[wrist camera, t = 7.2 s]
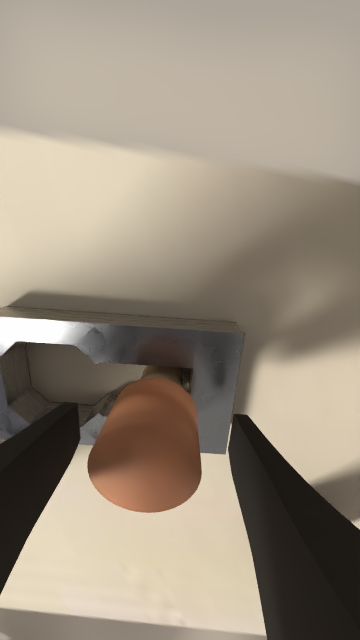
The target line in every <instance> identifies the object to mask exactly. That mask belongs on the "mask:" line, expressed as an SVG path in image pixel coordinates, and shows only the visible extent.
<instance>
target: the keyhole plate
mask: <svg viewBox="0 0 360 640" xmlns="http://www.w3.org/2000/svg"><path fill="white" fill-rule="evenodd" d="M244 335H245V333H244V332H243V331H242V329H241V328H240V327H239V326H238V325H237V323H236V322H223V321H208V320H194V319H179V318H164V317H150V316H135V315H121V314H106V313H92V312H77V311H63V310H48V309H33V308H19V307H3V308H0V435H1V439H9V438H11V437H13V436H14V435H16V434H17V433H19V432H20V431H22V430H23V429H25V428H26V427H28V426H29V425H31V424H32V423H34V422H35V421H37V420H38V419H40V418H41V417H43V416H44V415H46V414H47V413H49V412H50V411H52V410H53V409H55V408H56V407H58V406H59V405H61V404H63V403H52V402H49V401H47V400H46V399H45V398H44V397H43V396H41V395H40V394H39V393H38V392H37V391H35V390H34V389H33V388H32V387H31V382H30V375H29V368H28V362H27V355H26V348H25V344H26V343H27V342H39V343H53V344H68V345H75V346H76V347H77V348H78V349H79V350H80V351H82V352H83V353H84V354H85V355H86V356H87V357H88V358H89V359H90V360H91V361H92V362H93V363H94V364H96V365H98V364H99V363H100V362H109V363H124V364H138V365H153V366H167V367H182V368H190V379H189V390H188V393H189V394H190V395H191V397H192V398H193V400H194V402H195V405H196V409H197V419H198V432H199V445H200V453H213V454H226V448H227V441H228V435H229V429H230V423H231V416H232V410H233V404H234V398H235V392H236V385H237V379H238V373H239V367H240V360H241V354H242V348H243V342H244ZM117 397H118V396H113V395H112V394H111V393H109V394H108V395H107V396H105V397H104V398H103V399H102V400H101V401H99V402H98V403H97V404H96V405H81V404H78V413H79V425H80V437H81V439H80V442H79V444H83V445H94V443H95V441H96V439H97V437H98V435H99V433H100V431H101V429H102V427H103V425H104V423H105V421H106V419H107V417H108V415H109V413H110V411H111V409H112V407H113V405H114V403H115V401H116V399H117Z"/></svg>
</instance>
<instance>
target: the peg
mask: <svg viewBox="0 0 360 640" xmlns="http://www.w3.org/2000/svg"><path fill="white" fill-rule="evenodd" d="M88 473H89V477H90V479H91V482H92V484H93V485H94V487H95V488H96V489H97V491H98V492H99V493H100V494H101V495H102V496H103V497H104V498H106V499H107V500H109V501H110V502H112V503H113V504H115V505H117V506H120V507H122V508H125V509H128V510H132V511H136V512H147V513H151V512H161V511H166V510H169V509H172V508H175V507H177V506H179V505H181V504H182V503H184V502H185V501H187V500H188V499H189V498H190V497H191V496H192V495H193V494H194V493H195V491H196V490H197V488H198V486H199V483H200V480H201V473H202V470H201V458H200V445H199V432H198V419H197V409H196V405H195V402H194V400H193V398H192V397H191V395H190V394H189V393H188V392H187V391H186V390H185V389H184V388H183V387H182V374H181V371H180V369H179V368H178V367H167V366H153V365H147V367H146V368H145V370H144V372H143V375H142V378H141V379H140V380H137V381H135V382H133V383H131V384H129V385H128V386H126V387H125V388H124V389H123V390H122V391H121V392H120V394H119V395H118V397H117V399H116V401H115V403H114V405H113V407H112V409H111V411H110V413H109V415H108V417H107V419H106V421H105V423H104V425H103V427H102V429H101V431H100V433H99V435H98V437H97V439H96V441H95V443H94V445H93V448H92V450H91V452H90V454H89V458H88Z"/></svg>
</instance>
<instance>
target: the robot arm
mask: <svg viewBox="0 0 360 640" xmlns="http://www.w3.org/2000/svg"><path fill="white" fill-rule="evenodd" d="M80 439H81V437H80V425H79V413H78V403H68V402H64V403H63V404H61V405H59V406H58V407H56V408H55V409H53V410H52V411H50V412H49V413H47V414H46V415H44V416H43V417H41V418H40V419H38V420H37V421H35V422H34V423H32V424H31V425H29V426H28V427H26V428H25V429H23V430H22V431H20V432H19V433H17V434H16V435H14V436H13V437H11V438H9V439H8V440H6V441H5V442H3V443H1V444H0V594H1V592H2V590H3V588H4V586H5V584H6V581H7V579H8V577H9V575H10V573H11V571H12V569H13V567H14V565H15V563H16V561H17V559H18V557H19V554H20V552H21V550H22V548H23V546H24V544H25V542H26V540H27V538H28V536H29V535H30V533H31V531H32V529H33V527H34V525H35V523H36V522H37V520H38V518H39V517H40V515H41V513H42V511H43V510H44V508H45V506H46V504H47V503H48V501H49V499H50V497H51V496H52V494H53V492H54V491H55V489H56V487H57V485H58V484H59V482H60V480H61V478H62V477H63V475H64V473H65V471H66V470H67V468H68V466H69V464H70V462H71V460H72V458H73V456H74V453H75V451H76V449H77V446H78V444H79V442H80ZM228 452H229V459H230V465H231V472H232V477H233V481H234V485H235V489H236V492H237V496H238V500H239V504H240V508H241V512H242V516H243V519H244V523H245V527H246V531H247V535H248V539H249V543H250V547H251V552H252V556H253V561H254V567H255V572H256V578H257V583H258V588H259V594H260V600H261V605H262V611H263V617H264V623H265V628H266V634H267V640H360V530H359V529H358V528H357V527H356V526H355V525H353V524H352V523H351V522H350V521H349V520H347V519H346V518H345V517H344V516H343V515H342V514H341V513H339V512H338V511H337V510H336V509H335V508H334V507H333V506H332V505H331V504H330V503H328V502H327V501H326V500H325V499H324V498H323V497H322V496H321V495H320V494H319V493H318V492H317V491H316V490H314V489H313V488H312V487H311V486H310V485H309V484H308V483H307V482H306V481H305V480H304V479H303V478H302V477H301V476H300V475H299V474H298V472H297V471H296V470H295V469H294V468H293V467H292V466H291V465H290V464H289V463H288V462H287V461H286V460H285V459H284V458H283V457H282V455H281V454H280V453H279V452H278V451H277V450H276V449H275V447H274V446H273V445H272V444H271V443H270V442H269V440H268V439H267V438H266V437H265V436H264V435H263V433H262V432H261V431H260V430H259V429H258V427H257V426H256V425H255V424H254V422H253V421H252V420H251V419H250V418H249V416H248V415H242V414H234V416H233V422H232V428H231V435H230V441H229V447H228Z"/></svg>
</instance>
